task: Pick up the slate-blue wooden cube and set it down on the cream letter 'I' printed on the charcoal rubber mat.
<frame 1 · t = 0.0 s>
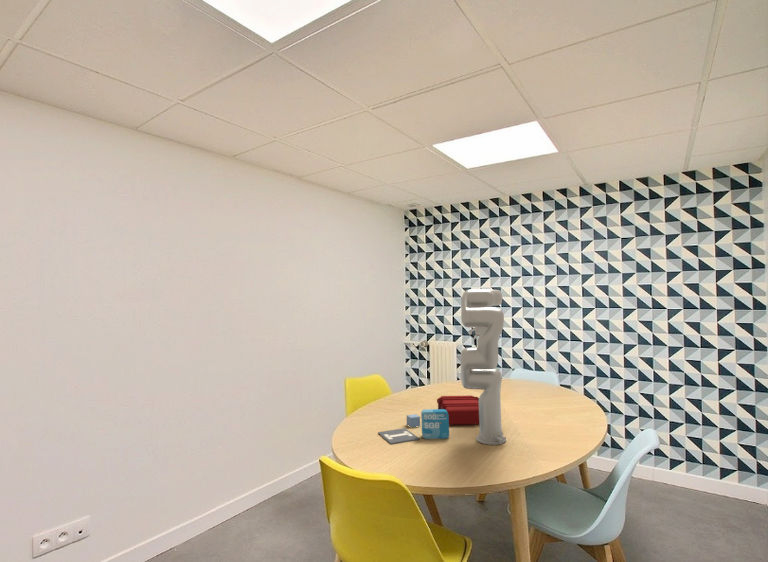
hand: (485, 346, 207), 37 cm above the table, tool pointing down, fingers open, 9 cm apart
letter mat: (398, 436, 181), on the table
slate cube: (413, 426, 196), on the table
data package: (435, 437, 179), on the table
first aid kit: (461, 417, 209), on the table
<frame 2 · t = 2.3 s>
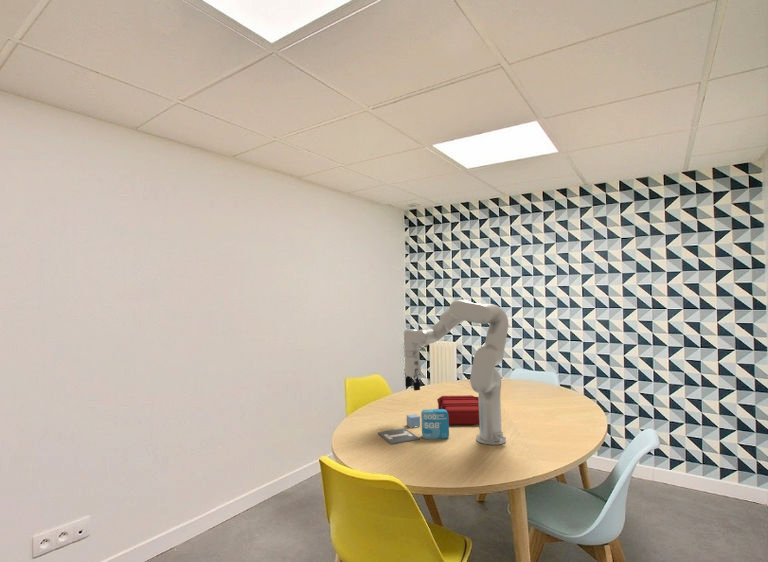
hand: (412, 388, 197), 19 cm above the table, tool pointing down, fingers open, 9 cm apart
nothing on the table moved.
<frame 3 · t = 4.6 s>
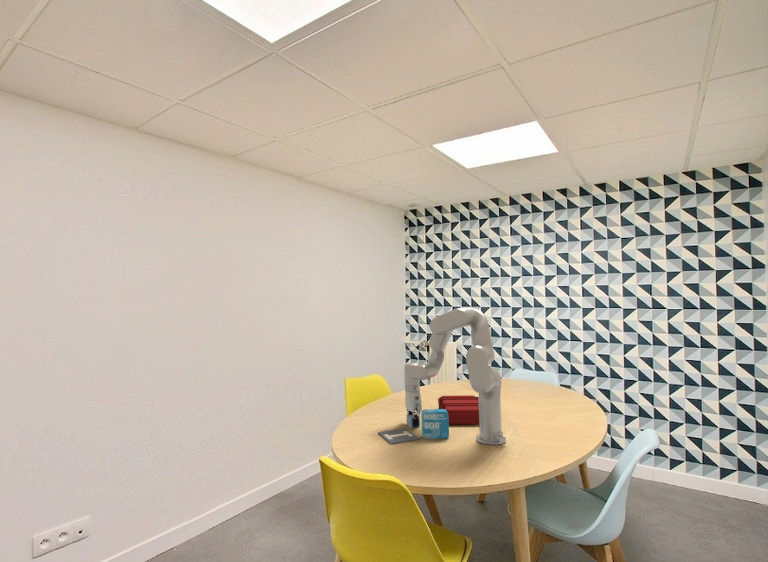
hand: (413, 424, 196), 1 cm above the table, tool pointing down, fingers closed on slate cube, 5 cm apart
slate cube: (413, 426, 196), on the table, touching gripper
everything else where it was.
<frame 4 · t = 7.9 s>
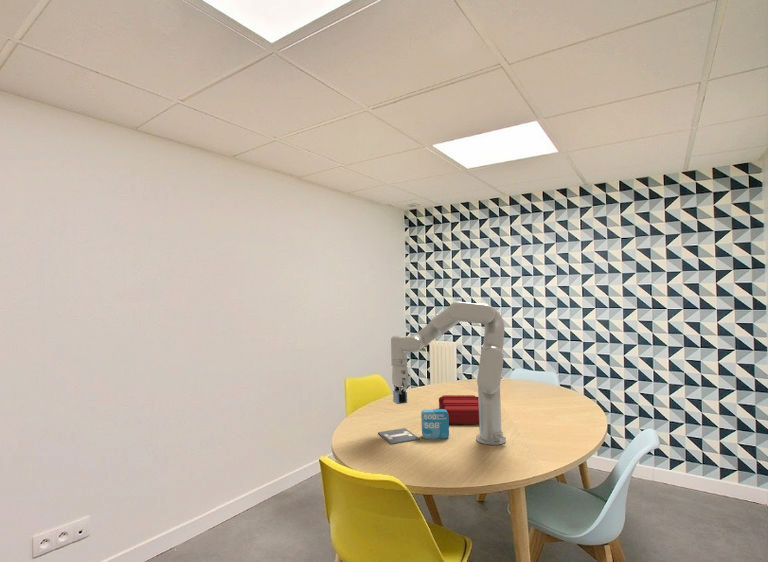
hand: (400, 400, 184), 15 cm above the table, tool pointing down, fingers closed on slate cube, 4 cm apart
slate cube: (400, 402, 184), point 15 cm above the table, touching gripper
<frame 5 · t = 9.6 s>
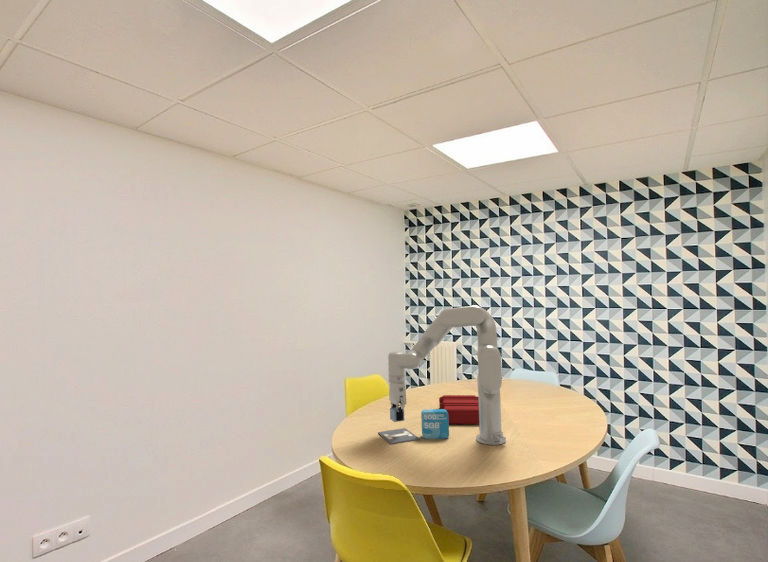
hand: (397, 418, 181), 8 cm above the table, tool pointing down, fingers closed on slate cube, 4 cm apart
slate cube: (397, 419, 181), point 8 cm above the table, touching gripper
when the fingers open (3 cm above the table, at t = 11.0 s): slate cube drops 1 cm, resting on letter mat.
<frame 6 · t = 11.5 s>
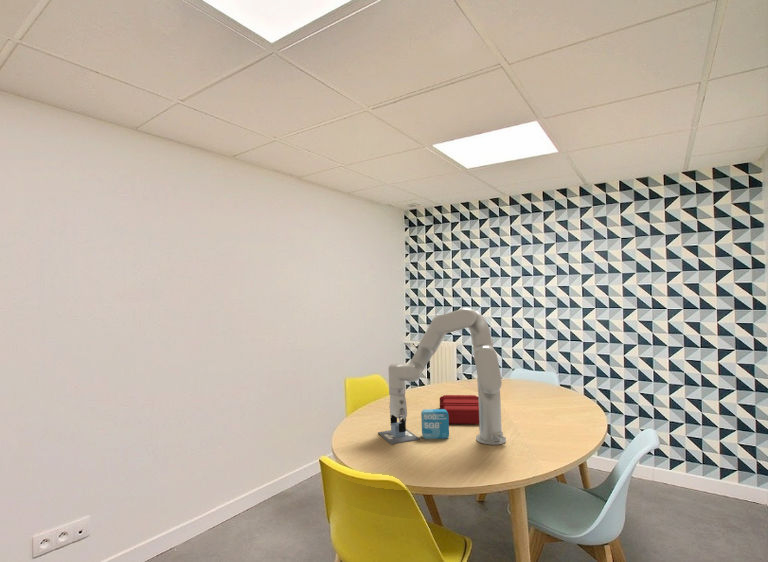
hand: (398, 428, 181), 4 cm above the table, tool pointing down, fingers open, 9 cm apart
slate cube: (398, 435, 181), point 1 cm above the table, touching letter mat
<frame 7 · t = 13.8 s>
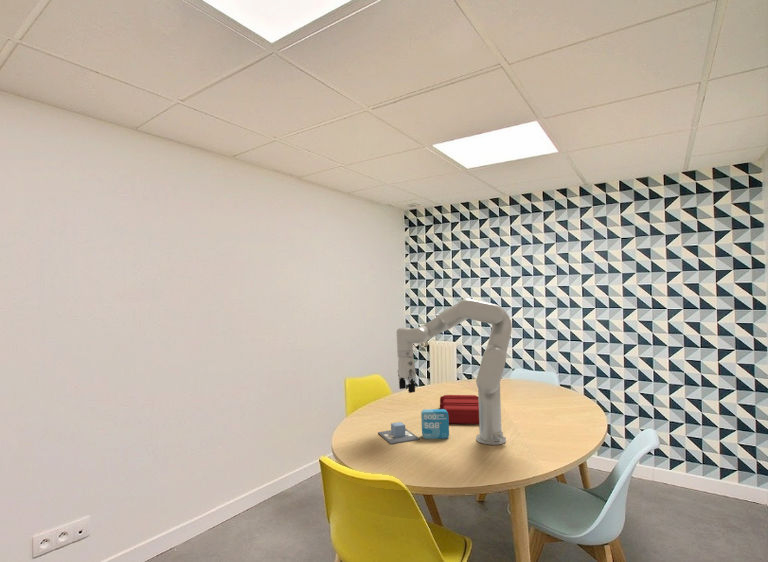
hand: (407, 390, 185), 20 cm above the table, tool pointing down, fingers open, 9 cm apart
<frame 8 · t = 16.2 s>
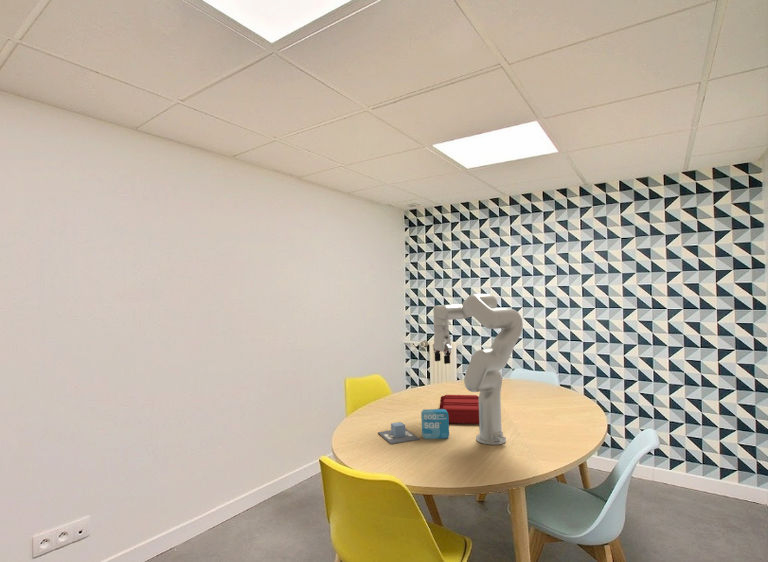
hand: (442, 362, 203), 30 cm above the table, tool pointing down, fingers open, 9 cm apart
at the end: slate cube 0.1 cm off-centre on the letter mat, point 0.6 cm above the letter mat's base; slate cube tilted 0°; the gripper is holding nothing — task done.
